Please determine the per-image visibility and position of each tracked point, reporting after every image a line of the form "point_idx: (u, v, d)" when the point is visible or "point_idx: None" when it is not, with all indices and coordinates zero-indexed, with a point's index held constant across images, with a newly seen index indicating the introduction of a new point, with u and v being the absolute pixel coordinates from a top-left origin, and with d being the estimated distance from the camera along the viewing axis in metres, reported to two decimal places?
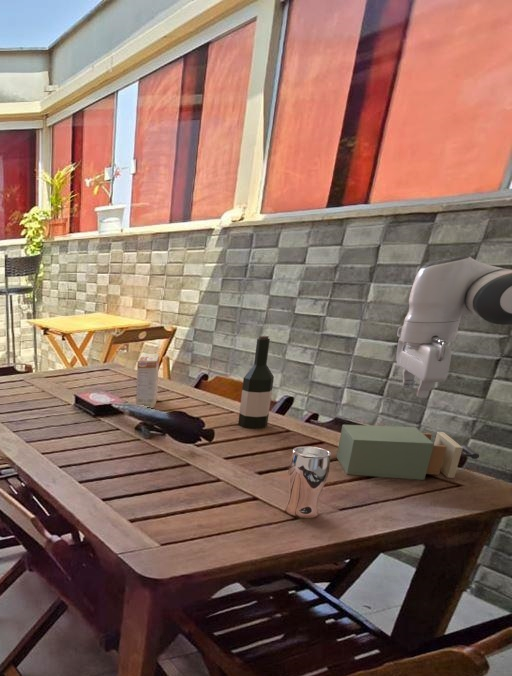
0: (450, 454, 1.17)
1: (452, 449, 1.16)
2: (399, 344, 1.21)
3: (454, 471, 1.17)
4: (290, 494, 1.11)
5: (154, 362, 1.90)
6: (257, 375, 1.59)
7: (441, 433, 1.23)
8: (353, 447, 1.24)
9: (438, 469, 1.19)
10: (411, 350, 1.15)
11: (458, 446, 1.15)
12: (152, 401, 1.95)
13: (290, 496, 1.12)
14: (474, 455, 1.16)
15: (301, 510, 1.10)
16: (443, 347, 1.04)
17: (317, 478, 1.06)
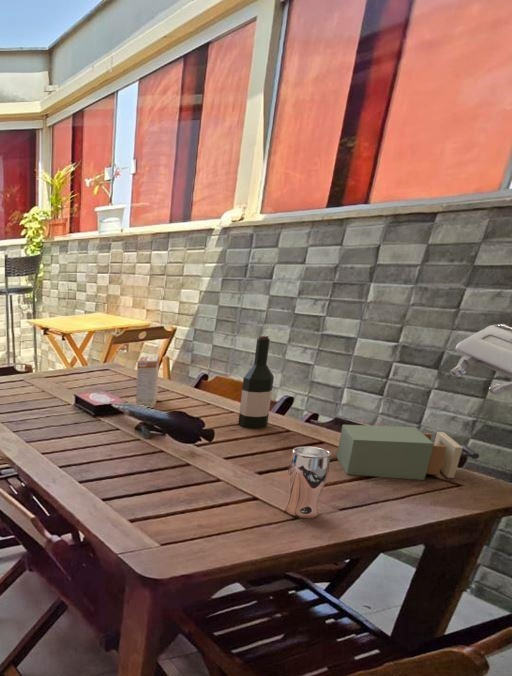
0: (450, 454, 1.17)
1: (452, 449, 1.16)
2: None
3: (454, 471, 1.17)
4: (290, 494, 1.11)
5: (154, 362, 1.90)
6: (257, 375, 1.59)
7: (441, 433, 1.23)
8: (353, 447, 1.24)
9: (438, 469, 1.19)
10: None
11: (458, 446, 1.15)
12: (152, 401, 1.95)
13: (290, 496, 1.12)
14: (474, 455, 1.16)
15: (301, 510, 1.10)
16: None
17: (317, 478, 1.06)
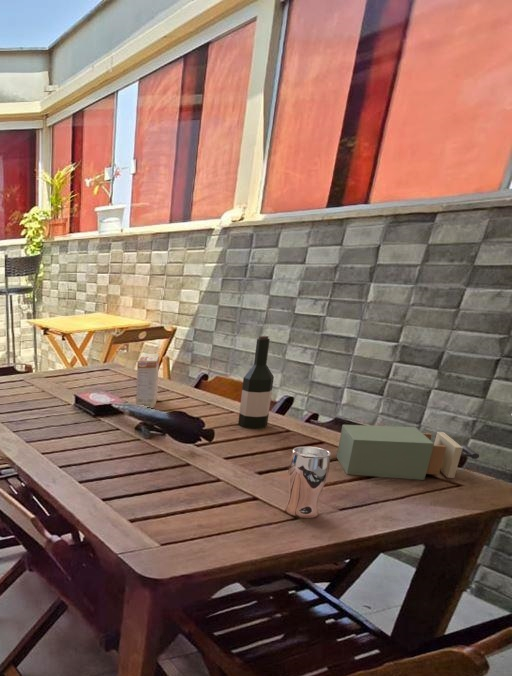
0: (450, 454, 1.17)
1: (452, 449, 1.16)
2: None
3: (454, 471, 1.17)
4: (290, 494, 1.11)
5: (154, 362, 1.90)
6: (257, 375, 1.59)
7: (441, 433, 1.23)
8: (353, 447, 1.24)
9: (438, 469, 1.19)
10: None
11: (458, 446, 1.15)
12: (152, 401, 1.95)
13: (290, 496, 1.12)
14: (474, 455, 1.16)
15: (301, 510, 1.10)
16: None
17: (317, 478, 1.06)
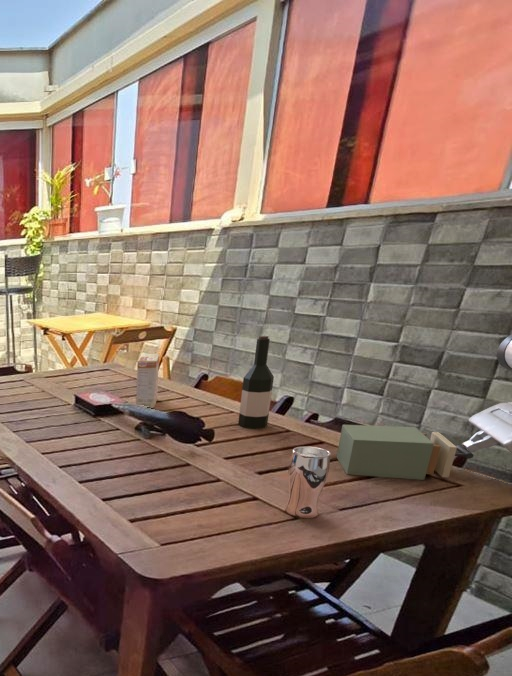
0: (444, 454, 1.18)
1: (446, 449, 1.17)
2: None
3: (448, 471, 1.17)
4: (290, 494, 1.11)
5: (154, 362, 1.90)
6: (257, 375, 1.59)
7: (436, 433, 1.24)
8: (353, 447, 1.24)
9: (433, 469, 1.19)
10: None
11: (452, 446, 1.16)
12: (152, 401, 1.95)
13: (290, 496, 1.12)
14: (468, 455, 1.17)
15: (301, 510, 1.10)
16: None
17: (317, 478, 1.06)
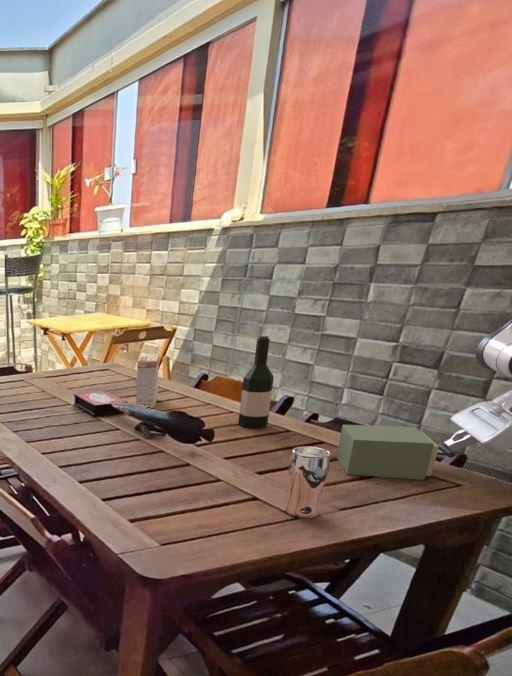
0: None
1: None
2: None
3: (431, 469, 1.19)
4: (290, 494, 1.11)
5: (154, 362, 1.90)
6: (257, 375, 1.59)
7: None
8: (353, 447, 1.24)
9: None
10: None
11: (434, 445, 1.17)
12: (152, 401, 1.95)
13: (290, 496, 1.12)
14: (450, 454, 1.18)
15: (301, 510, 1.10)
16: None
17: (317, 478, 1.06)
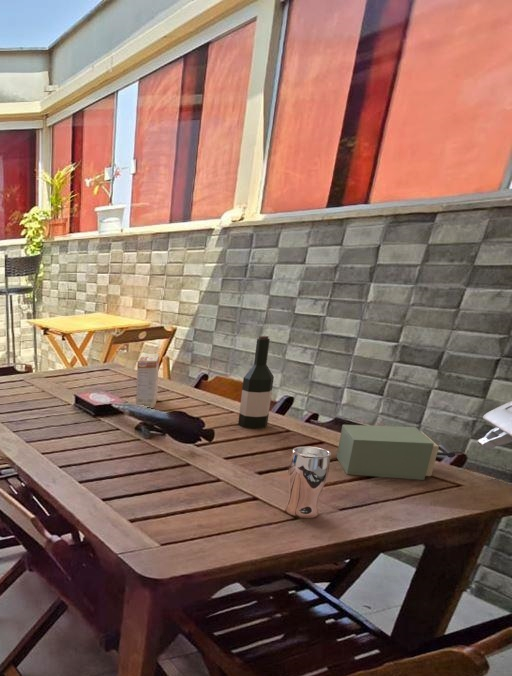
0: None
1: None
2: None
3: (431, 469, 1.19)
4: (290, 494, 1.11)
5: (154, 362, 1.90)
6: (257, 375, 1.59)
7: None
8: (353, 447, 1.24)
9: None
10: None
11: (434, 445, 1.17)
12: (152, 401, 1.95)
13: (290, 496, 1.12)
14: (450, 454, 1.18)
15: (301, 510, 1.10)
16: None
17: (317, 478, 1.06)
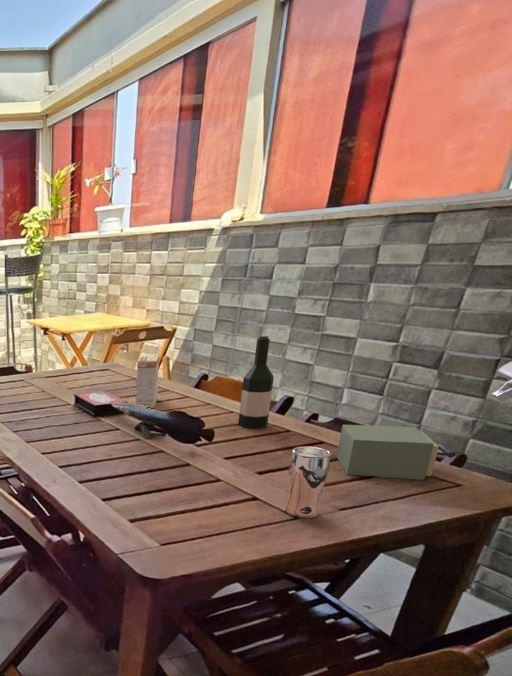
0: None
1: None
2: None
3: (431, 469, 1.19)
4: (290, 494, 1.11)
5: (154, 362, 1.90)
6: (257, 375, 1.59)
7: None
8: (353, 447, 1.24)
9: None
10: None
11: (434, 445, 1.17)
12: (152, 401, 1.95)
13: (290, 496, 1.12)
14: (450, 454, 1.18)
15: (301, 510, 1.10)
16: None
17: (317, 478, 1.06)
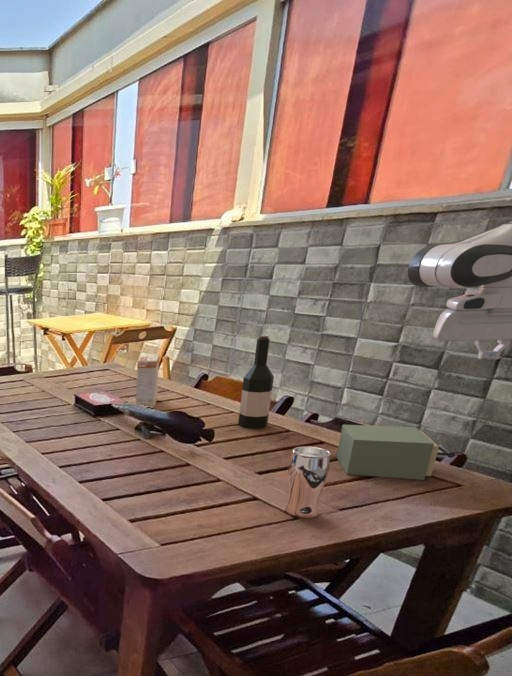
0: None
1: None
2: (453, 319, 1.15)
3: (431, 469, 1.19)
4: (290, 494, 1.11)
5: (154, 362, 1.90)
6: (257, 375, 1.59)
7: None
8: (353, 447, 1.24)
9: None
10: (488, 319, 1.13)
11: (434, 445, 1.17)
12: (152, 401, 1.95)
13: (290, 496, 1.12)
14: (450, 454, 1.18)
15: (301, 510, 1.10)
16: None
17: (317, 478, 1.06)
